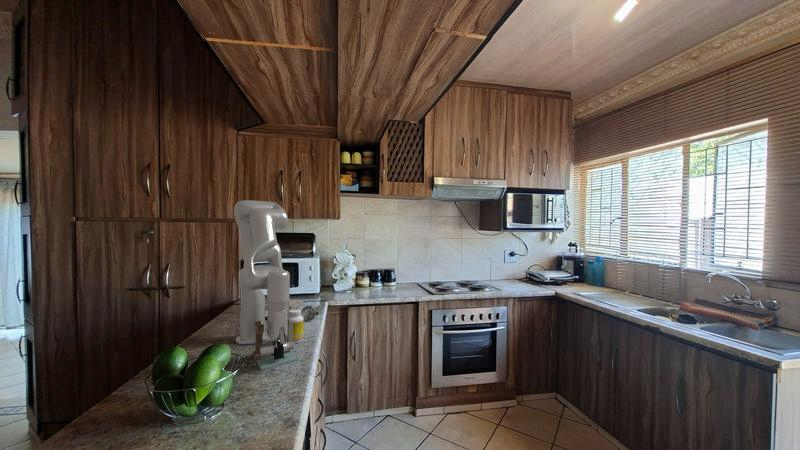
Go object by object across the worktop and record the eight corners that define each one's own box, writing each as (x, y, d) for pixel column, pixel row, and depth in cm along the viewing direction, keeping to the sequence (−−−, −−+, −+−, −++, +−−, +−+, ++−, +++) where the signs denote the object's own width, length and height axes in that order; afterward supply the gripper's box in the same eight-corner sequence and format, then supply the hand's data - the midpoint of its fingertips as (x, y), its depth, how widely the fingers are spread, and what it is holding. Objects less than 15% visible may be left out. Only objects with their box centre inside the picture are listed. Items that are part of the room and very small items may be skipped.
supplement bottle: (306, 339, 123) (306, 309, 123) (297, 345, 117) (297, 313, 117) (293, 337, 125) (293, 308, 125) (283, 343, 119) (283, 312, 119)
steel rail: (261, 358, 98) (261, 350, 98) (259, 354, 100) (260, 346, 100) (294, 350, 105) (294, 342, 104) (291, 347, 107) (292, 339, 107)
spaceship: (282, 315, 131) (297, 309, 130) (311, 303, 165) (324, 299, 165) (287, 332, 129) (303, 326, 129) (316, 317, 164) (328, 312, 164)
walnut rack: (252, 354, 107) (253, 321, 107) (285, 347, 115) (286, 316, 115) (255, 360, 102) (256, 325, 103) (290, 352, 110) (290, 319, 110)
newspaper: (276, 321, 147) (276, 314, 147) (253, 320, 148) (253, 314, 148) (303, 304, 183) (304, 298, 183) (285, 303, 183) (285, 297, 184)
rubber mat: (256, 362, 101) (256, 360, 101) (291, 353, 109) (291, 352, 109) (261, 370, 96) (261, 368, 96) (297, 360, 103) (297, 358, 103)
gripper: (261, 302, 107) (260, 351, 106) (272, 312, 94) (271, 368, 93) (282, 299, 111) (281, 346, 111) (295, 308, 98) (295, 362, 98)
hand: (277, 356), depth 102 cm, fingers closed on steel rail, 3 cm apart
